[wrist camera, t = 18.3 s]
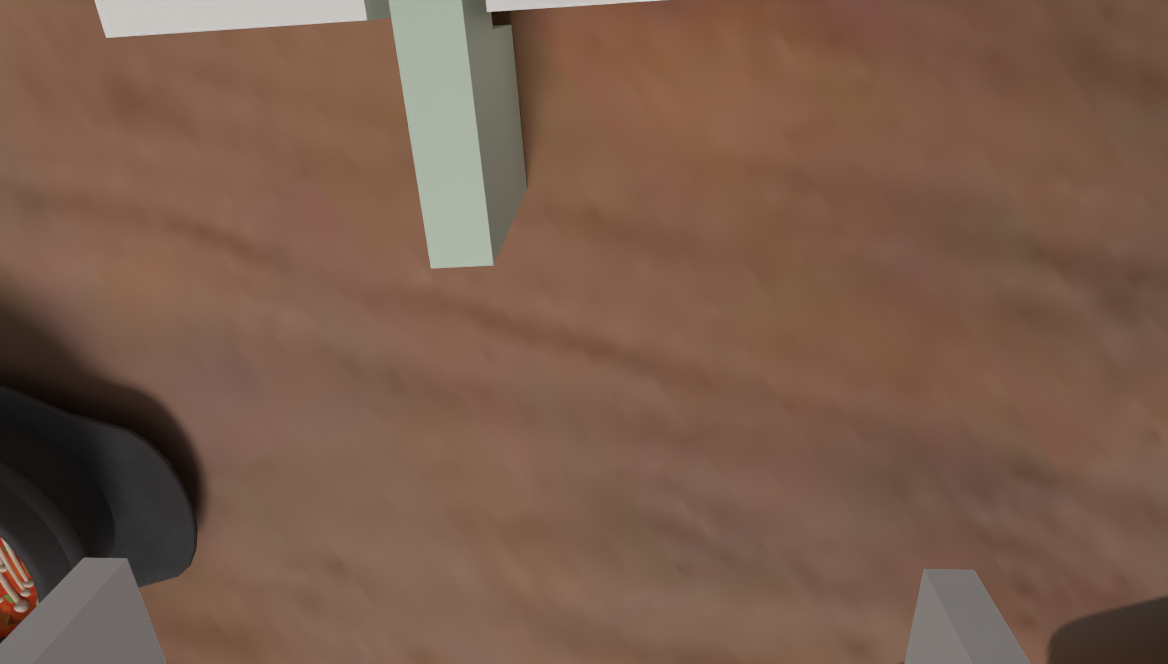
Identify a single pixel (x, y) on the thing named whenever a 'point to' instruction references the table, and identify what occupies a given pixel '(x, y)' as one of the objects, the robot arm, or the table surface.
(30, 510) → the casserole
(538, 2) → the white board
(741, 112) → the table surface
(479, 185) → the green board
